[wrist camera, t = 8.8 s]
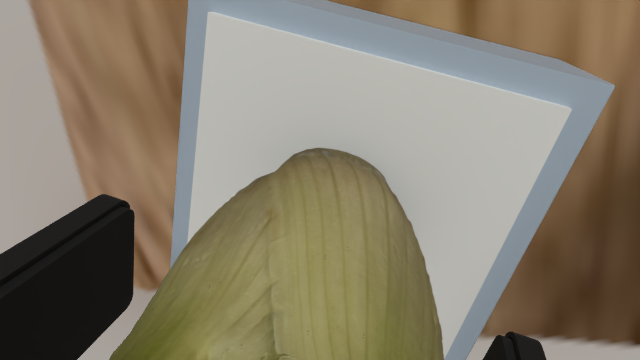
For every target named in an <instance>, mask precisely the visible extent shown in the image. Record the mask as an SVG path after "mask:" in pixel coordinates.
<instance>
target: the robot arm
mask: <svg viewBox="0 0 640 360" xmlns="http://www.w3.org/2000/svg"><path fill="white" fill-rule="evenodd" d="M133 270H134V212H133V210H131V209H130V205H129V204H128V202H126V201H124V200H121V199H118V198H115V197H112V196H109V195H106V194H102V195H99V196H97V197H96V198H94V199H92V200H91V201H89V202H87V203H85V204H84V205H82V206H80V207H79V208H77V209H76V210H74V211H72V212H70V213H69V214H67V215H65V216H64V217H62V218H60V219H59V220H57V221H55V222H54V223H52V224H50V225H49V226H47V227H45V228H44V229H42V230H40V231H38V232H37V233H35V234H34V235H32V236H30V237H28V238H27V239H25V240H23V241H22V242H20V243H18V244H17V245H15V246H13V247H12V248H10V249H8V250H7V251H5V252H3V253H2V254H0V360H77V359H78V358H79V357H80V356H81V355H82V354H83V353H84V352H85V351H86V350H87V349H88V348H89V347H90V346H91V345H92V344H93V343H94V342H95V341H96V340H97V338H98V337H99V336H100V335H101V334H102V333H103V332H104V331H105V330H106V329H107V328H108V327H109V326H110V325H111V324H112V323H113V322H114V321H115V320H116V319H117V318H118V317H119V316H120V315H121V314H122V313H123V312H124V311H125V310H126V309H127V307H128V306H129V304H130V302H131V300H132V297H133ZM483 360H546V357H545V354H544V351H543V348H542V345H541V343H540V342H539V341H538V340H535V339H532V338H529V337H526V336H523V335H520V334H517V333H514V332H508V333H507V334H506V335H505V336H501V335H498V336H496V338H495V339H494V341H493V343H492V345H491V346H490V348H489V350H488V351H487V353H486V355H485V357H484V358H483Z"/></svg>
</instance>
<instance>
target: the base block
mask: <svg viewBox="0 0 640 360" xmlns="http://www.w3.org/2000/svg"><path fill="white" fill-rule="evenodd" d="M614 88H615V85H613V84H611V83H609V82H606V81H604V80H602V79H600V78H598V77H596V76H594V75H592V74H589V73H587V72H585V71H583V70H581V69H579V68H577V67H574V66H572V65H570V64H568V63H566V62H564V61H562V60H559V59H555V58H551V57H547V56H543V55H539V54H535V53H531V52H527V51H523V50H519V49H516V48H512V47H508V46H504V45H500V44H496V43H492V42H488V41H484V40H480V39H476V38H472V37H468V36H464V35H460V34H456V33H453V32H449V31H445V30H441V29H437V28H433V27H429V26H425V25H421V24H417V23H413V22H409V21H405V20H401V19H397V18H393V17H390V16H386V15H382V14H378V13H374V12H370V11H366V10H362V9H358V8H354V7H350V6H346V5H342V4H338V3H334V2H330V1H327V0H189V1H188V16H187V31H186V45H185V60H184V75H183V89H182V104H181V119H180V133H179V148H178V163H177V177H176V192H175V207H174V221H173V236H172V251H171V266H170V269H171V267H172V266H173V264H174V262H175V261H176V259H177V258H178V256H179V255H180V253H181V252H182V250H183V249H184V248H185V246H186V245H187V244H188V242H189V241H190V240H191V238H192V237H193V236H194V234H195V233H196V232H197V231H198V230H199V229H200V228H201V227H202V226H203V225H204V224H205V223H206V221H207V220H208V219H209V218H210V217H211V216H212V215H214V213H215V212H216V211H217V210H218V209H219V208H220V207H222V206H223V204H225V203H226V202H228V201H229V200H230V198H231V197H234V196H235V195H236V193H237V192H238V191H239V190H241V189H243V188H245V187H246V186H248V185H249V184H250V183H251V182H253V181H254V180H255V179H257V178H259V177H261V176H264V175H267V174H270V173H272V172H275V171H276V170H277V169H278V168H279V167H280V166H281V165H282V164H283V163H284V162H285V161H286V160H287V159H289V158H290V157H291V156H292V155H293V154H296V153H299V152H301V151H304V150H306V149H313V148H328V149H335V150H340V151H344V152H347V153H350V154H352V155H355V156H358V157H360V158H362V159H364V160H365V161H367V162H368V163H370V164H371V165H373V166H374V167H375V168H377V169H378V170H379V171H380V172H381V173H382V175H383V176H384V177H385V179H386V182H387V184H388V185H389V187H390V189H391V191H392V192H393V193H394V194H395V195H396V196H397V199H398V201H399V203H400V204H401V206H402V208H403V209H404V211H405V214H406V216H407V218H408V220H409V221H410V222H411V223H412V226H413V230H414V233H415V236H416V238H417V239H418V243H419V246H420V249H421V251H422V254H423V256H424V258H425V264H426V270H427V273H428V274H429V276H430V282H431V286H432V292H433V296H434V299H435V304H436V307H437V314H438V318H439V323H440V325H441V330H442V343H443V354H444V360H466V359H467V357H468V355H469V353H470V351H471V349H472V348H473V346H474V344H475V342H476V340H477V338H478V337H479V335H480V333H481V331H482V329H483V327H484V326H485V324H486V322H487V320H488V318H489V316H490V315H491V313H492V311H493V309H494V307H495V305H496V304H497V302H498V300H499V298H500V296H501V295H502V293H503V291H504V289H505V287H506V285H507V284H508V282H509V280H510V278H511V276H512V274H513V273H514V271H515V269H516V267H517V265H518V263H519V262H520V260H521V258H522V256H523V254H524V252H525V251H526V249H527V247H528V245H529V243H530V241H531V240H532V238H533V236H534V234H535V232H536V230H537V229H538V227H539V225H540V223H541V221H542V219H543V218H544V216H545V214H546V212H547V210H548V208H549V207H550V205H551V203H552V201H553V199H554V198H555V196H556V194H557V192H558V190H559V188H560V187H561V185H562V183H563V181H564V179H565V177H566V176H567V174H568V172H569V170H570V168H571V166H572V165H573V163H574V161H575V159H576V157H577V155H578V154H579V152H580V150H581V148H582V146H583V144H584V143H585V141H586V139H587V137H588V135H589V133H590V132H591V130H592V128H593V126H594V124H595V122H596V121H597V119H598V117H599V115H600V113H601V111H602V110H603V108H604V106H605V104H606V102H607V101H608V99H609V97H610V95H611V93H612V91H613V90H614Z"/></svg>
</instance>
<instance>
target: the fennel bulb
mask: <svg viewBox="0 0 640 360" xmlns="http://www.w3.org/2000/svg"><path fill="white" fill-rule="evenodd" d="M110 360H444V354H443V343H442V330H441V325H440V323H439V318H438V314H437V307H436V304H435V299H434V296H433V292H432V286H431V282H430V276H429V274H428V273H427V270H426V264H425V258H424V256H423V254H422V251H421V249H420V246H419V243H418V239H417V238H416V236H415V233H414V230H413V226H412V223H411V222H410V221H409V220H408V218H407V216H406V214H405V211H404V209H403V208H402V206H401V204H400V203H399V201H398V199H397V196H396V195H395V194H394V193H393V192H392V191H391V189H390V187H389V185H388V184H387V182H386V179H385V177H384V176H383V175H382V173H381V172H380V171H379V170H378V169H377V168H375V167H374V166H373V165H371V164H370V163H368V162H367V161H365V160H364V159H362V158H360V157H358V156H355V155H352V154H350V153H347V152H344V151H340V150H335V149H328V148H313V149H306V150H304V151H301V152H299V153H296V154H293V155H292V156H291V157H290V158H289V159H287V160H286V161H285V162H284V163H283V164H282V165H281V166H280V167H279V168H278V169H277V170H276V171H275V172H272V173H270V174H267V175H264V176H261V177H259V178H257V179H255V180H254V181H253V182H251V183H250V184H249V185H248V186H246V187H245V188H243V189H241V190H239V191H238V192H237V193H236V195H235V196H234V197H231V198H230V200H229V201H228V202H226V203H225V204H223V206H222V207H220V208H219V209H218V210H217V211H216V212H215V213H214V215H212V216H211V217H210V218H209V219H208V220H207V221H206V223H205V224H204V225H203V226H202V227H201V228H200V229H199V230H198V231H197V232H196V233H195V234H194V236H193V237H192V238H191V240H190V241H189V242H188V244H187V245H186V246H185V248H184V249H183V250H182V252H181V253H180V255H179V256H178V258H177V259H176V261H175V262H174V264H173V266H172V267H171V269H170V270H169V272H168V274H167V275H166V277H165V278H164V280H163V282H162V284H161V286H160V287H159V289H158V290H157V292H156V294H155V295H154V296H153V298H152V299H151V301H150V302H149V304H148V306H147V307H146V309H145V311H144V313H143V314H142V316H141V317H140V319H139V320H138V321H137V323H136V324H135V326H134V328H133V329H132V331H131V333H130V334H129V335H128V336H127V338H126V339H125V340H124V341H123V342H122V344H121V345H120V346H119V347H118V348H117V349H116V350H115V351H114V352H113V354H112V355H111V357H110Z"/></svg>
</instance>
